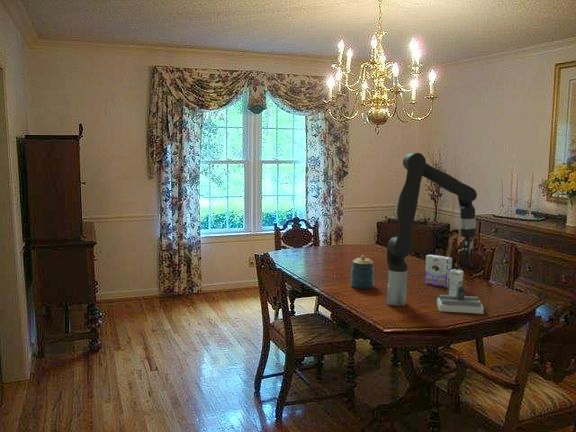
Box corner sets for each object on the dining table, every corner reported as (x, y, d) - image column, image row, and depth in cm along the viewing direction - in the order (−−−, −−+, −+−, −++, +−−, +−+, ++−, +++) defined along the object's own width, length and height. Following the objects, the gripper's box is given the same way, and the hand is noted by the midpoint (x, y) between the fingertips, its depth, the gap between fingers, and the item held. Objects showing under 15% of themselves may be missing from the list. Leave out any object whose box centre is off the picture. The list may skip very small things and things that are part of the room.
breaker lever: (457, 303, 253) (458, 286, 251) (455, 300, 258) (456, 284, 256) (463, 303, 252) (464, 287, 251) (462, 300, 257) (463, 284, 256)
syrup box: (451, 295, 277) (452, 268, 275) (462, 297, 273) (463, 270, 271) (446, 298, 272) (448, 270, 270) (457, 300, 269) (459, 272, 267)
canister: (357, 281, 303) (358, 251, 300) (377, 285, 295) (378, 254, 293) (346, 286, 292) (347, 255, 290) (367, 290, 285) (368, 258, 282)
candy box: (451, 285, 296) (452, 257, 293) (446, 288, 291) (447, 259, 289) (428, 281, 305) (430, 253, 303) (423, 283, 301) (425, 255, 298)
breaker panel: (439, 311, 251) (440, 300, 250) (436, 303, 263) (437, 293, 262) (483, 313, 248) (484, 303, 247) (478, 306, 259) (479, 296, 259)
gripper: (462, 224, 269) (463, 254, 271) (457, 229, 256) (458, 261, 259) (477, 224, 265) (478, 255, 268) (473, 229, 253) (474, 262, 256)
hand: (468, 258), depth 264 cm, fingers open, 8 cm apart
